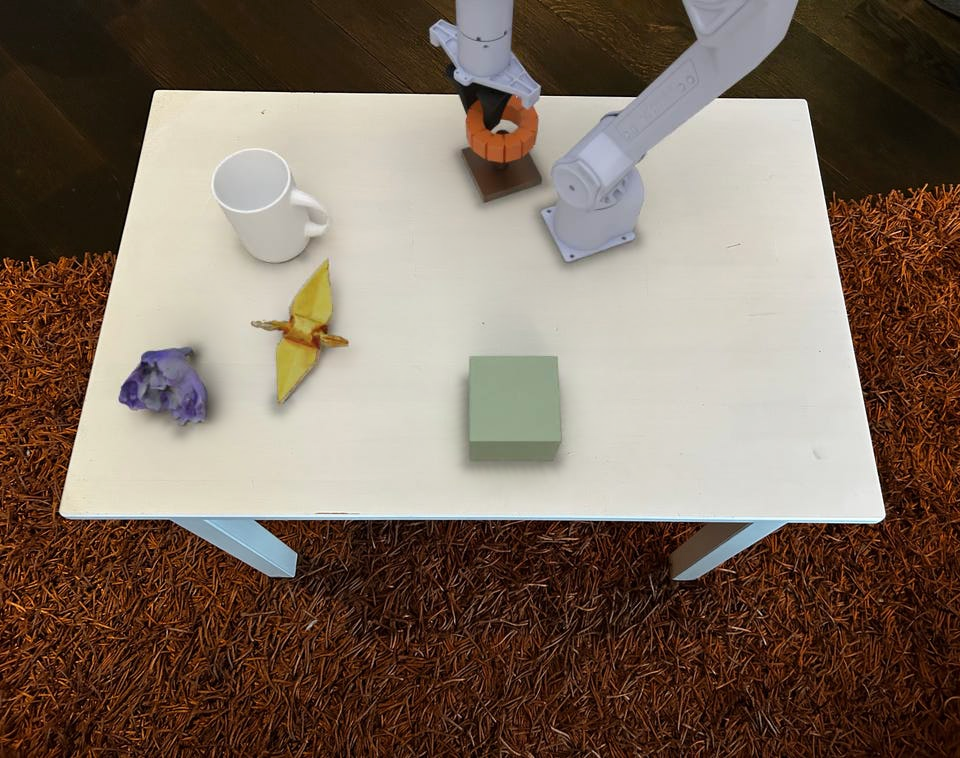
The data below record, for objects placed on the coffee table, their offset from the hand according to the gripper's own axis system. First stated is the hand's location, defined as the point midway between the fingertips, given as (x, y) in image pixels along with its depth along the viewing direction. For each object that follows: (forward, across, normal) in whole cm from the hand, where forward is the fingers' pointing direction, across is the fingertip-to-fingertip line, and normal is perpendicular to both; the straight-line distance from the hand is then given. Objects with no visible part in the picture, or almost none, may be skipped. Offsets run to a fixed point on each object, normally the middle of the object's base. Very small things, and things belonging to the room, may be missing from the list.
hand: (483, 119), depth 79 cm
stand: (+7, +3, 0) cm, 7 cm away
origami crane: (+7, +2, -33) cm, 34 cm away
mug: (+7, -9, -25) cm, 28 cm away
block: (+7, +26, -25) cm, 37 cm away
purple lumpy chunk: (+7, -4, -47) cm, 48 cm away
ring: (0, +3, 0) cm, 3 cm away
